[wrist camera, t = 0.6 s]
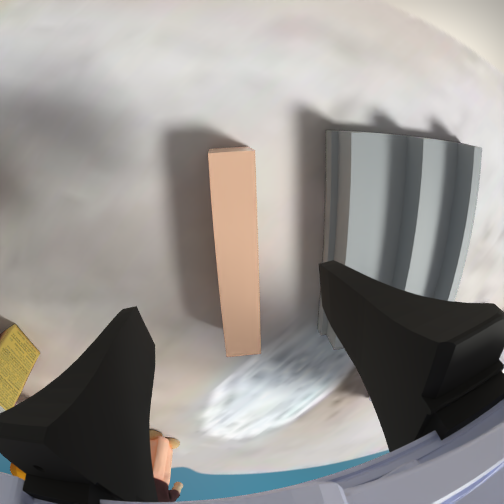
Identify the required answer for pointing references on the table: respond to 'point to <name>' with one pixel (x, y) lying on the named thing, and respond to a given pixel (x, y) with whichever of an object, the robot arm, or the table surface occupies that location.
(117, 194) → the table surface
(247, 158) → the clay strip
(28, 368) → the candy box
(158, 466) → the grandmother figurine
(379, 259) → the rack
